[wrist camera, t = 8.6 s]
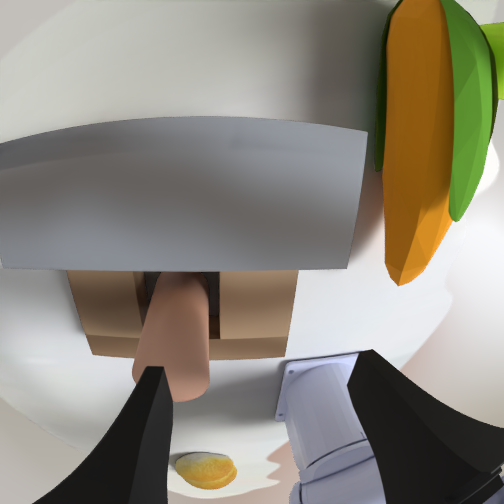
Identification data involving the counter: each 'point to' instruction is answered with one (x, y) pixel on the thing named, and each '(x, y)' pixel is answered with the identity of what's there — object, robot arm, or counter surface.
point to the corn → (430, 125)
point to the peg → (177, 334)
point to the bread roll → (206, 470)
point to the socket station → (183, 218)
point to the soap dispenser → (497, 51)
